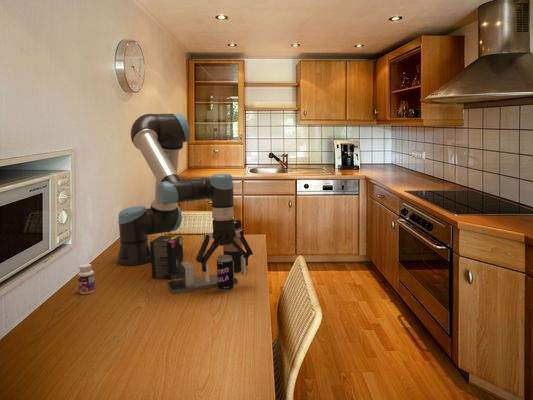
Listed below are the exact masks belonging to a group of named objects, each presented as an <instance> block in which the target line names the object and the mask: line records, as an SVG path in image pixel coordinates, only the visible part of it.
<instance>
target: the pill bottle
mask: <svg viewBox="0 0 533 400" xmlns="http://www.w3.org/2000/svg"><path fill="white" fill-rule="evenodd" d="M78 268H79V271H78V273H77V279H78V291H79V294H80V295H81V294H82V295H87V294H92V293H94V292H96V281H95V279H96V278H95V271H94V270H93V269H92V264H90V263H83V264H80V265H79V266H78Z"/></svg>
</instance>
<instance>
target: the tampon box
mask: <svg viewBox="0 0 533 400" xmlns="http://www.w3.org/2000/svg"><path fill="white" fill-rule="evenodd" d="M183 242H184V241H183V236H182V235H181V236H180V235H160V236H158V237H156V238H155V239H152V240H150V241H149V246H150V252H151V262H150V263H151V265H150V266H151V278H152V279H162V280H163V279H165V280H173V279H172V275H171V274H175V273H181V271H180V262H184V251H183V250H184V248H183Z"/></svg>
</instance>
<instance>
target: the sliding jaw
mask: <svg viewBox="0 0 533 400" xmlns="http://www.w3.org/2000/svg"><path fill="white" fill-rule="evenodd" d="M180 271H181V273H175V274H171V275H172V279H171V280H181V281H182V282H183V284H184V285H185V286H186V287H191V286H194V278H195V269H194V266H193V265H192V264H191V262H189V261H187V260H186V261H183V262H180Z"/></svg>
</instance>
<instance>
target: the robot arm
mask: <svg viewBox="0 0 533 400" xmlns="http://www.w3.org/2000/svg"><path fill="white" fill-rule="evenodd" d="M190 135H191V134H190V126H189V122H188V120H187V118H186V117H185V116H184V115H182V114H181V113H174V112H173V113H145V114H143V115H141V116H139V117H137V119H135V120H134V122H133V123H132V126H131V128H130V139H131V142H132V144H133V146H134V147H135V148H136V149H137V150H139V151H140V153H141V154H142V156H143V158H144V160H145V161H146V164H147V165H148V167H149V169H150V171H151V172H152V174H153V176H154V177H155V189H154V190H155V191H154V200H152V201H151V203H150V207H149V208H147V207H146V206H145V205H137V206H136V205H134V206H130V207H127V208H124V209H122V210H120V211H119V213H118V229H119V244H120V245H119V249H118V251H117V252H118V253H117V257H116V262H117V264H118V265H120V266H121V265H122V266H139V265H145V264H148V263H151V252H150V242H149V236H151V235H159V234H165V233H171V232H176V231H178V229H179V228H180V227H181V225H182V219H183V216H182V209H181V207H180V206H178V203H186V202H193V201H202V200H204V201H205V200H211V216H212V234H209V233H204V234H203V240H202V244H201V245H200V248H199V250H198V253H197V255H196V258H195V261H196V262H197V263H201V271H202V272H203V273H204V276H205V280H206V281H207V282H209V275H210V268H209V266H210V265H209V262H208V260H209V259H210V258H211V257H212V255H213V254H214V252H215V251H216V249H217V248H218V247H219V246H221V247H223V246H224V245H229V244H233V246H234V247H235V248H236V249H237V250H238V251H239V252H240V253H241V254H242V256H241V271H240V273H241V275H242V276H244V277H246V276H247V270H246V269H247V266H249V257H250V256H252V255H253V251H252V249H251V247H250V245H249V243H248V241H247V239H246V238H245V234H244V231H243V229H242V230H238V231H236V232H235V230H234V229H235V228H234V221H235V219H234V217H235V210H234V182H233V176H232V175H231V174H230V173H216V174H212V175H211V176H210V177H209V176H208V177H207V176H205V177H198V178H196V179H195V178H194V179H183V180H182V178H181V177H180V176H179V174H178V167H179V166H178V164H179V155H180V152H179V151H182V149H183V148H184V143H187V142H188V141H189V139H190ZM236 235H237V236H238V237H239V238H240V240H241V242H242V248H241V247H240V246H239V245H238V244H237V243H236V242H235V240H234V238H235V236H236ZM211 240H213V241H212V243H211V245H210V246H209V247H208V245H209V243H210V241H211ZM207 248H208V249H207ZM243 248H244V249H245V250H244V249H243Z"/></svg>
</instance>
